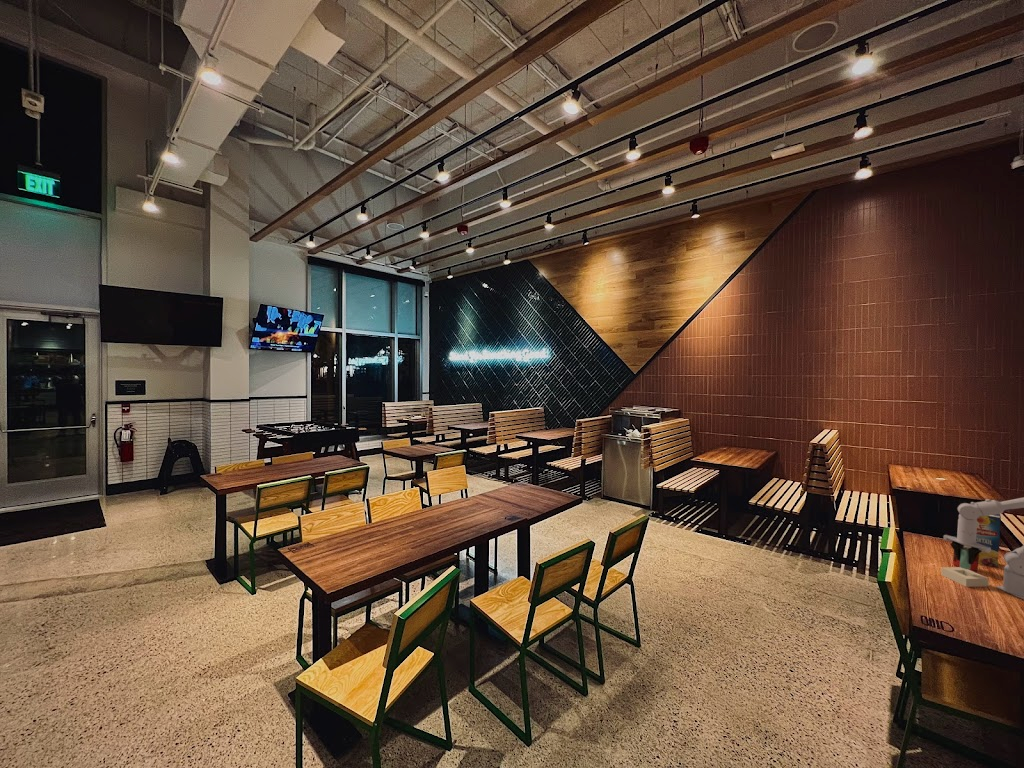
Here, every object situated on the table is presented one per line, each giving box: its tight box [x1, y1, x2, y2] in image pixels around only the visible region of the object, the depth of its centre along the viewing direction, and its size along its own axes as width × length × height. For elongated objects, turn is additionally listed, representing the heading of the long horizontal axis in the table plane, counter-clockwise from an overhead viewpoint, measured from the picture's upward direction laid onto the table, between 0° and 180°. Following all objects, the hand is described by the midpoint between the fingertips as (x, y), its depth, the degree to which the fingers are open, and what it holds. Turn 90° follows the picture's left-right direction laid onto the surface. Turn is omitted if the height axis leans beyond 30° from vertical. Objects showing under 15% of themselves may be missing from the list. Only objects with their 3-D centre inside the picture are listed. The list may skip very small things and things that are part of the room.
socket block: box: [940, 566, 990, 588], centre depth 186 cm, size 10×10×4 cm
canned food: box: [952, 545, 979, 572], centre depth 197 cm, size 8×8×11 cm
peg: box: [960, 548, 971, 569], centre depth 185 cm, size 3×3×8 cm
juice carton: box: [976, 514, 1002, 569], centre depth 203 cm, size 12×8×24 cm, turn 42°
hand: (965, 561), depth 185 cm, fingers closed on peg, 3 cm apart
